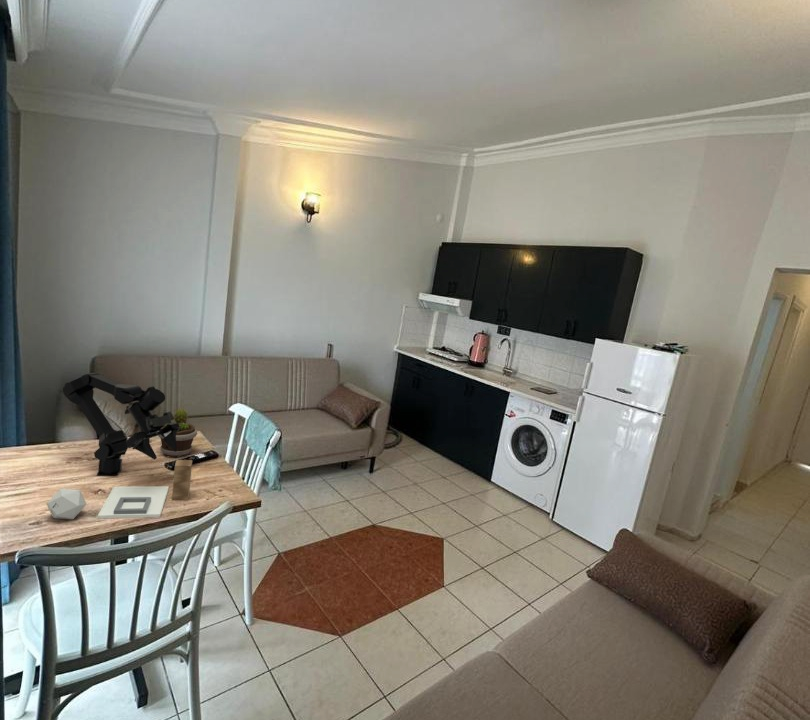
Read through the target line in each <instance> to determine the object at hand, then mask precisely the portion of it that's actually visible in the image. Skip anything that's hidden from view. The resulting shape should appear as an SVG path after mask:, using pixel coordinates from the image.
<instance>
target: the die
mask: <svg viewBox="0 0 810 720" xmlns="http://www.w3.org/2000/svg"><path fill="white" fill-rule="evenodd" d="M86 505H87V502H86V499H85V497H84V496H83V493H82V491H81V489H74V488H73V489H72V488H71V489H70V488H69V489H68V488H60V489H59V490H58V491H57V492H56V493H55V494H54V495H53V496H52V497H51V498H50V499H49V501H47V503H46V506H47V508H48V510H49V512H50V514H51V516H52V517H53V519H61V520H74V519H75V518H76V517H77V516H78V515H79V513H80V512H81V511H82V510H83V509H84V508H85V507H86Z"/></svg>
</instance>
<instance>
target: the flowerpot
mask: <svg viewBox="0 0 810 720" xmlns="http://www.w3.org/2000/svg"><path fill="white" fill-rule="evenodd" d="M173 412H174V411H173ZM173 417H174V419H173V421H171V422H172V423H174V422H176V423H178V424H179V426H180V427H181V428H179V431H178V432H177V433H176V443H177V449H178V451H176V452H175V451H173V450H172V449H171V447H170V446H169V445H168V444H167V443H166V442H165V441H164V440H163V438H164V437H163V436H161V435H159V436H158V437H159V439H160V442H161V444H160V447H159V448H160V452H161V453H162V454H163V456H165V457H167V456H169V457H168V458H179V457H182V456H183V457H185V456H188V455H189V453H190V452H191V451H193V446H192V444H193V442H194V439H195V438H196V437H197V435H198V430H197V428H195V426H194V425H193V424H191V423H188V421H189V420H188V419H189V417H188V412H187V410H186V409H185V408H183V407H182V406H180V407H177V410H176V411H175V412H174V413H173ZM168 424H169V423H168ZM166 425H167V424H165V426H166ZM165 426H164V427H165ZM164 427H162V428H161V429H163V428H164ZM187 454H188V455H187Z"/></svg>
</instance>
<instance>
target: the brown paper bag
mask: <svg viewBox="0 0 810 720" xmlns="http://www.w3.org/2000/svg"><path fill="white" fill-rule="evenodd" d="M192 467H193V459H176V461H175V465H174V472H173V480H172V481H173V482H172V492H171V493H172V494H171V501H188V500H189V496H190V490H191V489H190V488H191V477H192V469H193V468H192Z"/></svg>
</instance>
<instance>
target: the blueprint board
mask: <svg viewBox="0 0 810 720" xmlns="http://www.w3.org/2000/svg"><path fill="white" fill-rule="evenodd" d="M169 489H170V486H167V485H166V486H164V485H163V486H157V485H155V486H150V485H149V486H146V485H145V486H137V485H135V486H113V488H112V490H111V491H110V492H109V495H108V496H107V498H106V500H105V502H104V503H103V506H102V507H101V509H100V510H99V512H98V514H97V517H96V518H97V520H99V519H102V520H103V519H104V520H105V519H137V518H138V519H140V518H141V519H144V518H146V519H147V518H161V515H162V512H163V508H164V506H165V502H166V500H167V496H168V493H169Z"/></svg>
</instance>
